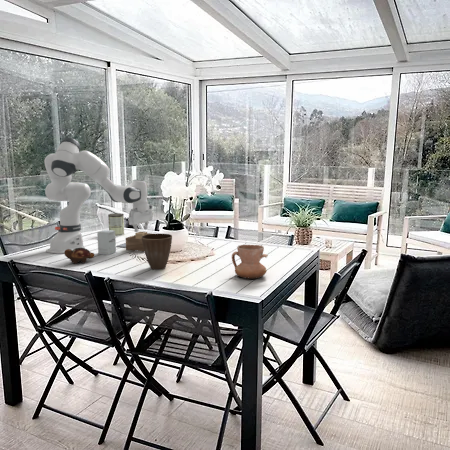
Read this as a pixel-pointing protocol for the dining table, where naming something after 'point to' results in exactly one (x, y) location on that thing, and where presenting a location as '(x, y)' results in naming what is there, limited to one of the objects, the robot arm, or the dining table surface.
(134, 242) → the walnut caddy
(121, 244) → the rubber coaster
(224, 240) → the dining table surface
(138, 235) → the oak block
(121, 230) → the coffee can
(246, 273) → the ceramic jug
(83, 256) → the decorative turtle
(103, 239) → the supplement box
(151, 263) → the plant pot
